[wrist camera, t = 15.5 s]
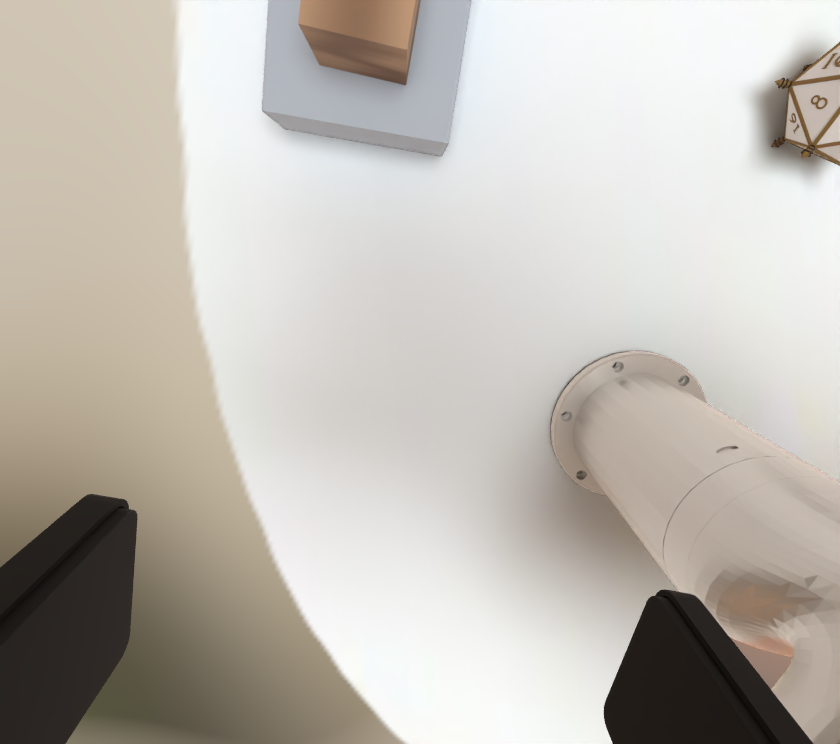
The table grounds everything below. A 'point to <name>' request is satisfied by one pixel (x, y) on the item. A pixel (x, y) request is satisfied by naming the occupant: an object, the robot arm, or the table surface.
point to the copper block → (362, 35)
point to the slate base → (367, 83)
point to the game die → (814, 108)
